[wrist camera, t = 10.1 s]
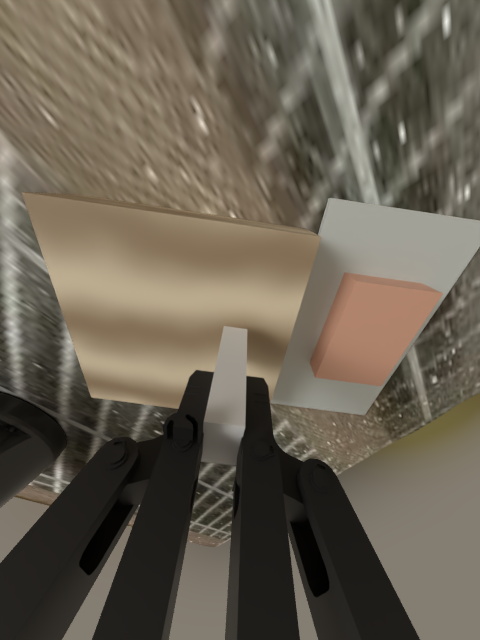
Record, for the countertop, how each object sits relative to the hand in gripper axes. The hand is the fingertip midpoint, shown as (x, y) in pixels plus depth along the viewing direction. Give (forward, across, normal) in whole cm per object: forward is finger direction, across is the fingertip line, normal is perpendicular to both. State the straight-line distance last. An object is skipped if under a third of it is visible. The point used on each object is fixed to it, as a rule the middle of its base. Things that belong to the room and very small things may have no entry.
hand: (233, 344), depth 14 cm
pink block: (+3, -11, 0) cm, 11 cm away
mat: (+5, -10, +1) cm, 12 cm away
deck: (+5, +4, +1) cm, 7 cm away
